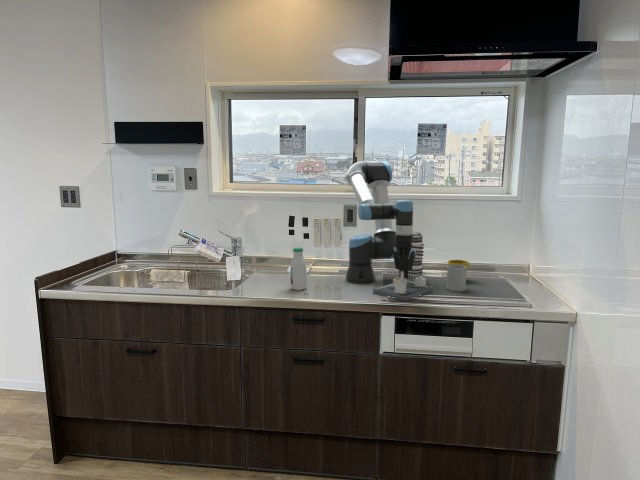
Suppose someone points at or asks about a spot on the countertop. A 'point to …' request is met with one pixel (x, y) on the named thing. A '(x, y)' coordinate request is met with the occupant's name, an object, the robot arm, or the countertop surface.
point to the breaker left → (400, 288)
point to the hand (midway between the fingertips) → (403, 284)
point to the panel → (410, 293)
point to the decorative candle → (416, 257)
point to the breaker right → (420, 281)
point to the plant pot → (459, 263)
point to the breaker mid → (396, 281)
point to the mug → (456, 278)
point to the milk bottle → (298, 270)
